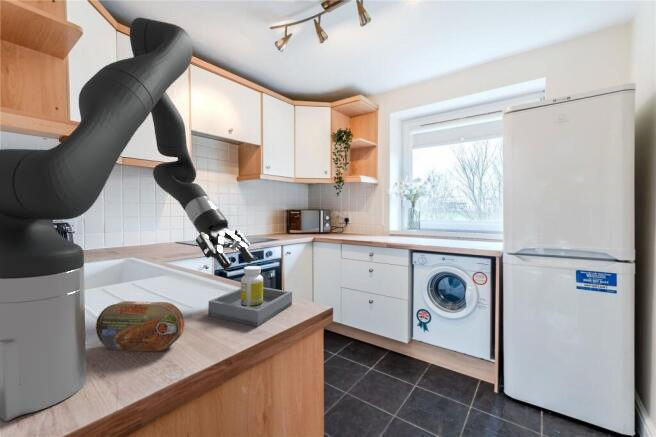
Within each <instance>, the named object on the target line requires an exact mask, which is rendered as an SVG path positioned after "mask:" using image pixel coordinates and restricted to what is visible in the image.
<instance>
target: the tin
mask: <svg viewBox="0 0 656 437" xmlns="http://www.w3.org/2000/svg"><path fill="white" fill-rule="evenodd" d="M184 326H185V319H184V315H183V313H182V312H181V310H180V308H178V306H176V305H175V304H173V303H171V302H167V301H166V302H165V301H134V300H133V301H131V300H127V301H121V302H118V303H114V304H111V305H109V306H107V307H105V308H104V309H103V310H101V312H100V314H99V315H98V317H97V319H96V323H95V329H96V330H95V332H96V335H97V338H98V339H99V341H100V343H102V345H103V346H104V347H106V348H108V349H109V350H112V351H120V352H121V351H124V352H125V351H126V352H127V351H129V352H163V351H165V350H166V349H169V348H170V347H171V346H173V344H174V343H176V341H178V340H179V339H180V338H181V336H182V334H183V331H184V328H185V327H184Z"/></svg>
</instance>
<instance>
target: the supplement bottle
mask: <svg viewBox="0 0 656 437" xmlns="http://www.w3.org/2000/svg"><path fill="white" fill-rule="evenodd" d="M261 269H262V268H261V266H259V265H250V266H249V265H248V266H245V267H243V273H244V275H243V276H242V277H241V278H240V288H241V306H245V307H250V308H255V309H257V308H260V307H261V306H262V305H263V287H264V277H263V276H262V275H261V272H262V271H261Z"/></svg>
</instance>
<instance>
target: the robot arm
mask: <svg viewBox="0 0 656 437" xmlns="http://www.w3.org/2000/svg"><path fill="white" fill-rule="evenodd" d="M129 41H130V47H131V51H132V55H133V56H132V57H129V58H124V59H120V60H117V61H114V62H112V63H109V64H107V65H105V66H103V67H102V68H101V69H99V70H98V71H97V72H96V73H95V74H94V75H93V76H92V77H90V78H89V79H88V80H87V82H85V84H84V85H83V86H82V87H81V90H80V91H79V94H78V110H79V115H80V122H79V124H78V125H77V126H76V127H75V129H74V130H73V131H72V132H71V133H70V134H69V135H68V136H67V137H66V138H65V139H64V140H62V141H61V142H59V144H58V145H56V146H54V147H52V148H49V149H31V148H30V149H24V148H23V149H21V148H16V149H15V148H2V149H0V419H1V420H2V421H4V422H9V421H10V420H13V419H14V418H17V417H19V416H22V415H27V414H30V413H35V412H37V411H40V410H43V409H46V408H49V407H51V406H54V405H56V404H59V403H60V402H62V401H64V400H66V399H68V398H70V397H71V396H73V395H74V394H76V393H77V392H78V391H79V390H80V389H81V388H82V387H83V386H84V385H85V383H86V381H87V363H86V362H87V360H86V359H87V358H86V357H87V356H86V307H85V306H86V304H85V303H86V302H85V296H86V294H85V253H84V250H83V248H82V246H81V245H79V244H77V243H75V242H72V241H70V240H68V239H67V238H65V237H63V236H62V235H61V234H60V233H59V232H58V231H57V229H56V228H55V225H54V221H64V220H71V219H76V218H78V217H80V216H82V215H83V214H85V213H87V211H89V210H90V209H91V207H92V206H93V205H94V204H95V203H96V201H97V200H98V198H99V196H100V195H101V193H102V191H103V189H104V187H105V185H106V183H107V181H108V180H109V178H110V176H111V173H113V169H114V168H115V166H116V164H117V161H118V160H119V158H120V156H121V155H122V154H123V152H124V150H125V149H126V148H127V146H128V144H129V143H130V141H131V139H132V138H133V137H134V135H135V133H136V132H137V131H138V129H139V128H140V127H141V126H142V125H143V123H144V122H145V121H146V119H147V118H148V116H149V115H150V114H151V117H152V123H153V128H154V135H155V140H156V141H155V142H156V148H157V151H158V153H159V154H160V155H162V156H165V157H167V158H168V157H169V158H177V160H173V161H168V162H162V163H158V164H157V165H155V166H154V167H153V170H152V176H153V179H154V180H155V183H156V184H157V185H158V186H159V188H161V189H162V190H163V191H164V192H166V193H167V194H169V195H170V196H171V197H172V198H174V200H175V201H177V202H178V203H179V205H180V206H181V207H182V208H183V210H184V212H185V213H186V216H187V217H188V220H190V222H191V223H192V225H193V227H195V229H196V231H197V232H198V233H199V235H198V236H197V237H196V239H195V242H196V243H197V245H198V246H199V248H200V250H201V252H202V253H203V254H204V256H205V258H207V259H208V258H209V259H210V257H211V258H213V259H215V260H216V261H217V263H218V265H220V267H221V268H222V269H223V270H225V271H226V270H228V269H229V268H231V266H232V262H231V261H230V259H229V258H228V256H227V255H226V254H225V252H223V250H224V249H230V250H233V251H234V250H235V251H237V252H238V253H239V254H240V255H241V257H242V258H243V260H244V261H245V263H246V264H250V263H251V262H253V260H254V256H253V254H252V253H251V252H250V251H249V249H248V247H249V246H250V245H251V242H250V241H249V240H248V239H247V237H246V236H245V234H243V232H242V231H241V230H240V229H239V228H236V229H235V230H234V231H232V229H230V228H229V226H228V225H229V222H228V220H227V218H226V217H225V216H224V214H223V213H222V211H221V210H220V209H219V207H218V206H217V205H216V203H215V202H214V201H213V200H212V199H211V198H210V197H209V196H208V194H207V193H206V191H205V190H204V188H202V186H200V185H199V183H195V182H194V181H195V180H196V178H197V170H196V168H195V165H194V163H193V161H192V159H191V156H190V152H189V149H188V145H187V134H186V126H185V125H186V124H185V122H184V119H183V117H182V115H181V113H180V112H179V110H178V108H177V107H176V106H175V104H174V103H173V100H171V98H170V96H169V94H168V92H167V90H168V89H169V88H170V87H171V86H172V85H173V84H174V83H175V82H176V81H177V80H178V79H179V78H180V77H181V76H182V75H183V74H184V73H185V72H186V71H187V70H188V69H189V66H190V64H191V62H192V59H193V52H194V49H193V48H194V46H193V42H192V39H191V36H190V35H189V33H188V32H187V31H186V30H185V29H184V28H182V27H181V26H179V25H176V24H173V23H169V22H165V21H160V20H156V19H151V18H147V17H146V18H145V17H136V18H134V19H133V20H132V21H131V23H130V27H129Z"/></svg>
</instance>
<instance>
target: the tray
mask: <svg viewBox="0 0 656 437" xmlns="http://www.w3.org/2000/svg"><path fill="white" fill-rule="evenodd" d="M292 305H293V291H289V290H281V289H278V288H277V289H275V288H271V287H270V288H269V287H264V286H263V305H262V306H261V307H260V308H257V309H255V308H250V307H245V306H241V287H240V288H238V289H235V290H232V291H231V292H228V293H225V294H224V295H221V296H218V297H215V298H213V299H209V301H208V310H207V311H208V317H212V318H217V319H222V320H226V321H230V322H234V323H239V324H244V325H248V326H251V327H257V328H258V327H260V326H261V325H263V324H265V323H267V322H268V321H269V320H271V319H273V318H274V317H276V316H277V315H279V314H280V313H281V312H283V311H285V310H287V309H288V308H290V307H291V306H292Z"/></svg>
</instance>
